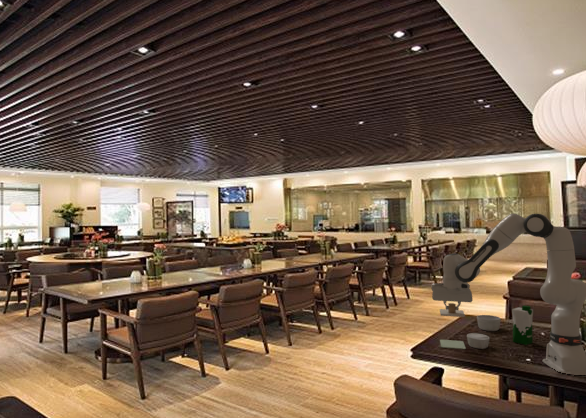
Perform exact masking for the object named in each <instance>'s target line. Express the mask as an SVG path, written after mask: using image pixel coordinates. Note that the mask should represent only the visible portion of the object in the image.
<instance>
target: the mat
mask: <svg viewBox="0 0 586 418" xmlns="http://www.w3.org/2000/svg"><path fill="white" fill-rule="evenodd" d="M439 343H440V348H443V349H445V348H447V349H456V350H457V349H458V350H466V349H467V348H466V345H465V343H464V341H462V340H450V339H439Z"/></svg>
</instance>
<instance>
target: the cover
mask: <svg viewBox="0 0 586 418" xmlns="http://www.w3.org/2000/svg"><path fill="white" fill-rule="evenodd" d="M447 306H449V310H447V309H446V308H444V309H443V308H440V309H439V314H440V317H442V316H443V317H456V318H466V315H465V312H464V310H462V309H461V310H460V309H459V310H456V306H457V305H456V303H454V302H449V303H448V304H447Z"/></svg>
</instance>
